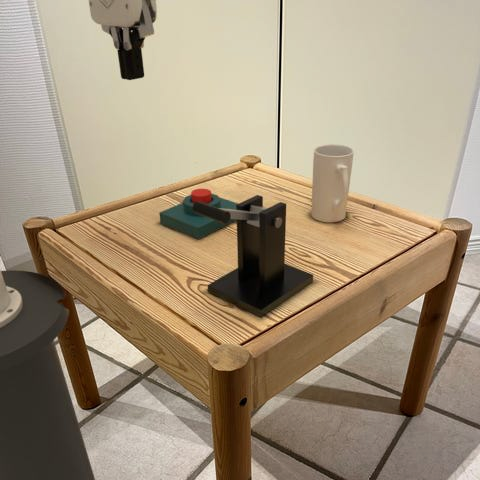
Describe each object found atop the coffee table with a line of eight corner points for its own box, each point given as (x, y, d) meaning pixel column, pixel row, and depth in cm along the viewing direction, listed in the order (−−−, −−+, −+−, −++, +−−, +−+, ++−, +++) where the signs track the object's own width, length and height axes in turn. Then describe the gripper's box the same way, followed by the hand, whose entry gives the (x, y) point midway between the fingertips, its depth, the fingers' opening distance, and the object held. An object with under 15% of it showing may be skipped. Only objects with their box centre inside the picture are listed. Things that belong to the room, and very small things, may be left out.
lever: (220, 227, 59) (225, 207, 58) (190, 216, 62) (194, 196, 61) (279, 231, 68) (284, 213, 68) (251, 221, 71) (255, 204, 70)
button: (201, 207, 90) (201, 197, 89) (187, 202, 92) (186, 192, 91) (215, 201, 92) (215, 191, 91) (201, 196, 94) (201, 187, 93)
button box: (198, 239, 88) (197, 217, 85) (160, 223, 93) (157, 203, 91) (245, 216, 95) (244, 196, 93) (206, 203, 100) (205, 183, 98)
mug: (305, 210, 97) (308, 146, 90) (338, 206, 98) (344, 142, 91) (323, 233, 89) (328, 164, 82) (359, 228, 90) (368, 160, 83)
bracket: (261, 317, 68) (261, 230, 61) (207, 292, 74) (202, 208, 67) (313, 281, 76) (318, 199, 68) (261, 260, 81) (261, 182, 74)
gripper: (57, -73, 69) (83, 76, 80) (126, -79, 61) (145, 88, 71) (103, -71, 73) (122, 69, 84) (173, -77, 65) (184, 80, 76)
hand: (133, 78), depth 78 cm, fingers closed
